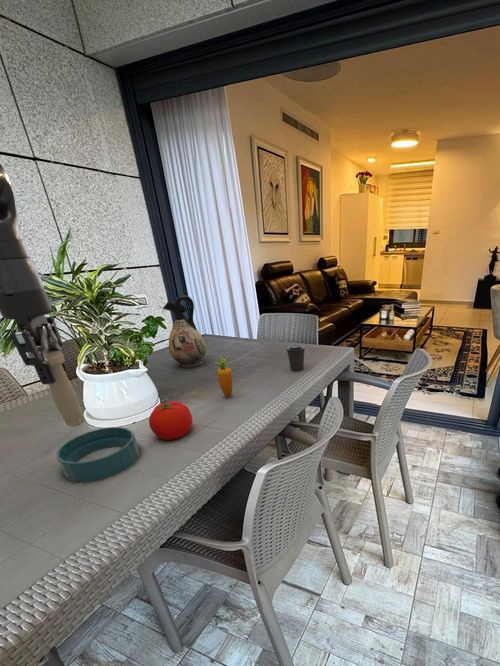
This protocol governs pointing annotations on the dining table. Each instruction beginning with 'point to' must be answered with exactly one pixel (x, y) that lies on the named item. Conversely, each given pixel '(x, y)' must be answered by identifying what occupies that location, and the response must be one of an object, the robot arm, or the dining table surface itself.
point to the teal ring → (93, 442)
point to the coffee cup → (296, 357)
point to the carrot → (225, 378)
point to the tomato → (170, 420)
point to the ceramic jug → (185, 335)
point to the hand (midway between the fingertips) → (55, 376)
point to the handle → (64, 391)
